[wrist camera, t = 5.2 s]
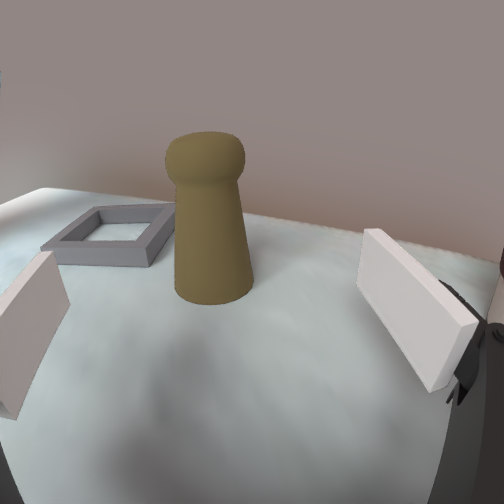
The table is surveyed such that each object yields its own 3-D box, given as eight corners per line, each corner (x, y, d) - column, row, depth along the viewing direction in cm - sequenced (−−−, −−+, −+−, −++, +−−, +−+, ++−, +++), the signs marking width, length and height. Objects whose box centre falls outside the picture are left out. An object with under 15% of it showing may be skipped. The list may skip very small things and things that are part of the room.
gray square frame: (44, 263, 27) (40, 247, 26) (96, 219, 37) (94, 206, 37) (148, 267, 26) (145, 248, 25) (182, 217, 37) (181, 203, 36)
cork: (169, 270, 26) (154, 134, 21) (239, 257, 27) (235, 127, 22) (181, 312, 20) (160, 141, 16) (265, 294, 22) (266, 133, 17)
